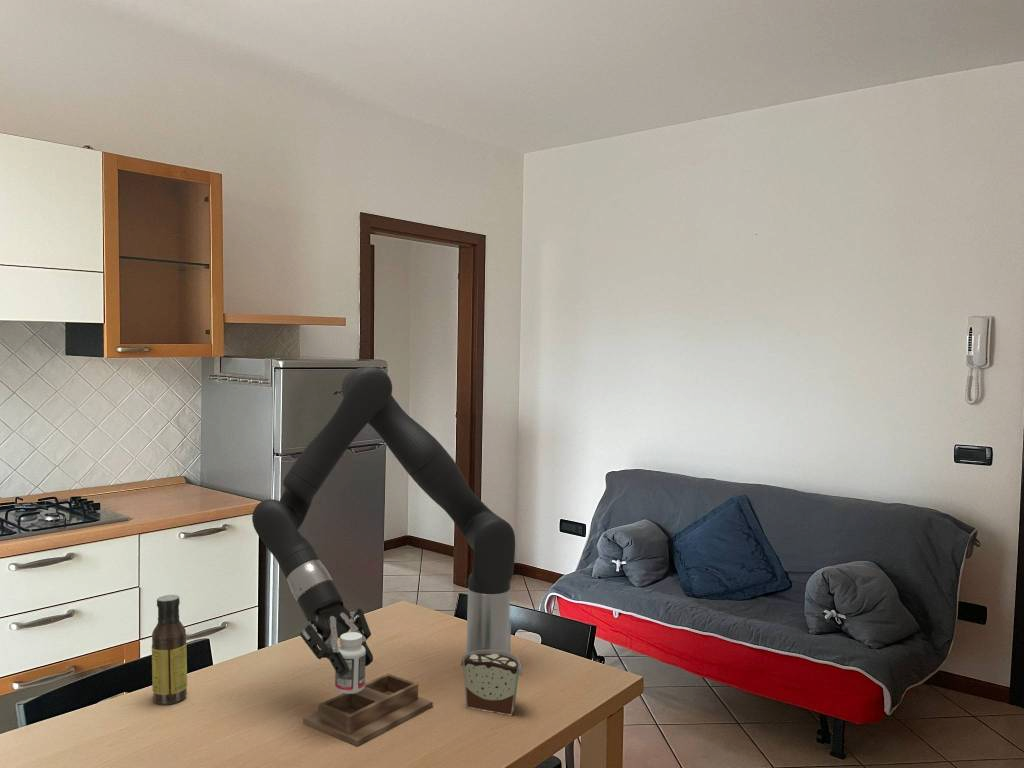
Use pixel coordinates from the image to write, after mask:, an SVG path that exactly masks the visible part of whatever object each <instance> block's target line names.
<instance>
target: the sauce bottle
mask: <svg viewBox="0 0 1024 768" xmlns="http://www.w3.org/2000/svg"><path fill="white" fill-rule="evenodd" d="M180 604H181V601H180V596H179V595H178V594H167V595H166V594H165V595H163V596H159V597H157V599H156V607H157V612H158V613H157V624H156V626H155V628H154V629H153V631H152V633H151V642H152V643H151V667H152V668H151V674H152V675H151V677H152V681H151V682H152V683H151V684H152V687H151V688H152V693H153V696H152V699H153V702H155V703H156V704H158V705H161V706H162V705H171V704H172V705H173V704H177V703H178V702H180V701H183V700H184V699H185V698H186V697H187V695H188V691H187V690H188V689H187V687H188V665H187V664H188V663H187V662H188V661H187V659H188V655H187V651H188V649H187V637H186V636H187V632H186V627H185V626H184V625H183V624H182V622H181V621H180V609H179V608H180Z"/></svg>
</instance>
